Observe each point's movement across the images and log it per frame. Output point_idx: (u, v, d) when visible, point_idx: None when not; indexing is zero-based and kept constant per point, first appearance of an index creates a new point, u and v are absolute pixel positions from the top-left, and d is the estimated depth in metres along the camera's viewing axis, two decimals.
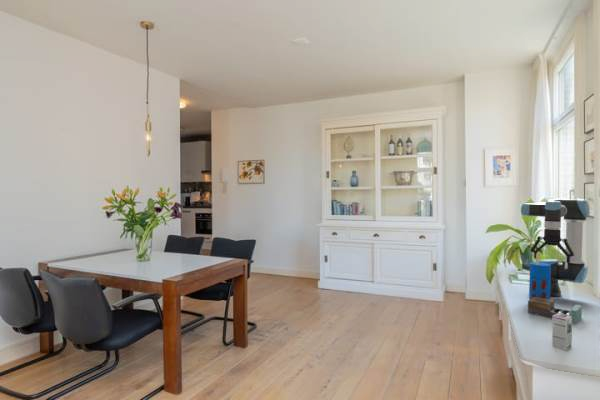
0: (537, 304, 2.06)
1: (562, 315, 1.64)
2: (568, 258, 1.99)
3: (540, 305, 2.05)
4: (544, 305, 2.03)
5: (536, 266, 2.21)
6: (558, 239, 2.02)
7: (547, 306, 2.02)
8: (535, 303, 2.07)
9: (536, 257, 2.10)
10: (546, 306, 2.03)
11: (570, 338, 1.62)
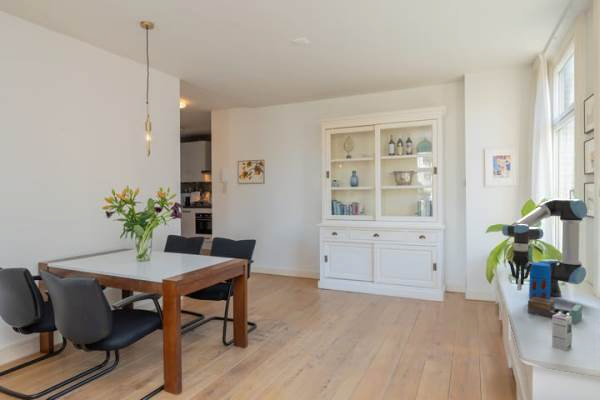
0: (537, 304, 2.06)
1: (562, 315, 1.64)
2: (522, 280, 2.16)
3: (540, 305, 2.05)
4: (544, 305, 2.03)
5: (536, 266, 2.21)
6: (526, 260, 2.14)
7: (547, 306, 2.02)
8: (535, 303, 2.07)
9: (517, 282, 2.17)
10: (546, 306, 2.03)
11: (570, 338, 1.62)
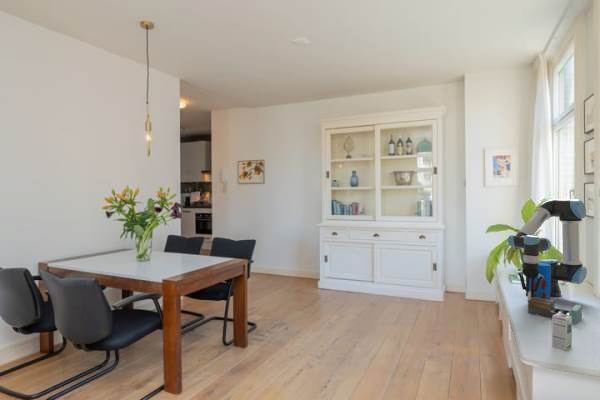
0: (537, 304, 2.06)
1: (562, 315, 1.64)
2: (532, 293, 2.12)
3: (540, 305, 2.05)
4: (544, 305, 2.03)
5: None
6: (536, 273, 2.10)
7: (547, 306, 2.02)
8: (535, 303, 2.07)
9: (528, 295, 2.13)
10: (546, 306, 2.03)
11: (570, 338, 1.62)
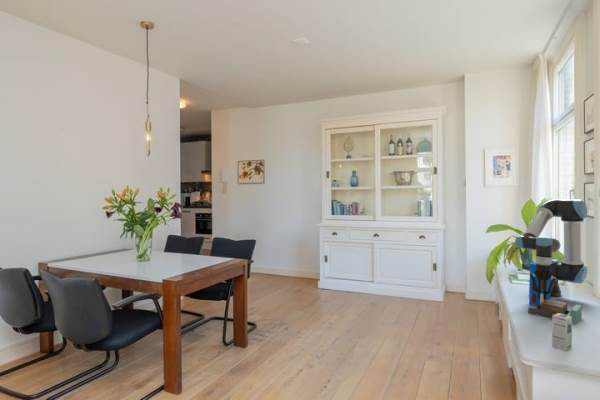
0: (550, 307, 2.01)
1: (562, 315, 1.64)
2: (545, 295, 2.08)
3: (553, 308, 2.00)
4: (557, 308, 1.99)
5: None
6: (549, 275, 2.06)
7: (560, 309, 1.98)
8: (548, 306, 2.02)
9: (540, 297, 2.09)
10: (559, 309, 1.98)
11: (570, 338, 1.62)
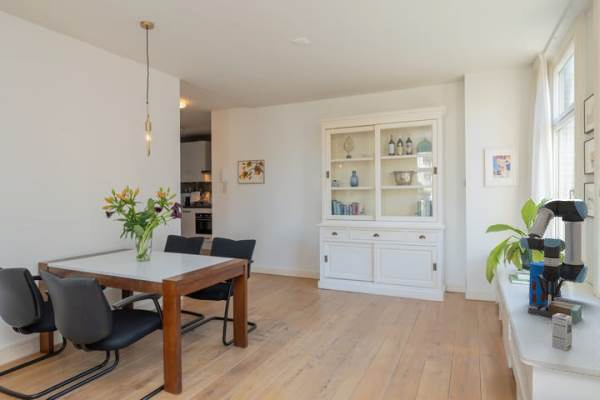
0: (558, 308, 1.99)
1: (562, 315, 1.64)
2: (552, 297, 2.05)
3: (561, 309, 1.98)
4: (566, 309, 1.96)
5: (536, 266, 2.21)
6: (557, 276, 2.03)
7: (569, 311, 1.95)
8: (556, 307, 1.99)
9: (548, 299, 2.06)
10: (568, 311, 1.95)
11: (570, 338, 1.62)
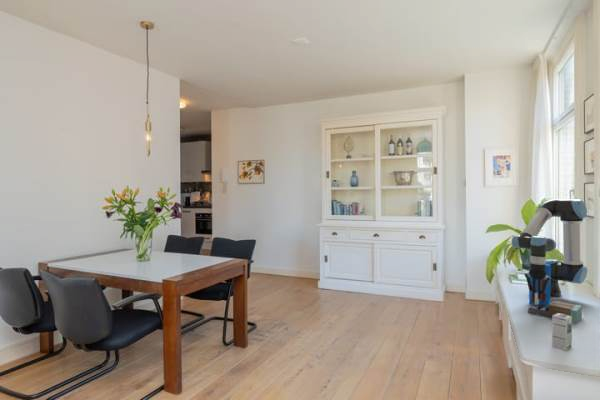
0: (558, 308, 1.99)
1: (562, 315, 1.64)
2: (539, 294, 2.10)
3: (561, 309, 1.98)
4: (566, 309, 1.96)
5: None
6: (543, 274, 2.08)
7: (569, 311, 1.95)
8: (556, 307, 1.99)
9: (535, 296, 2.11)
10: (568, 311, 1.95)
11: (570, 338, 1.62)
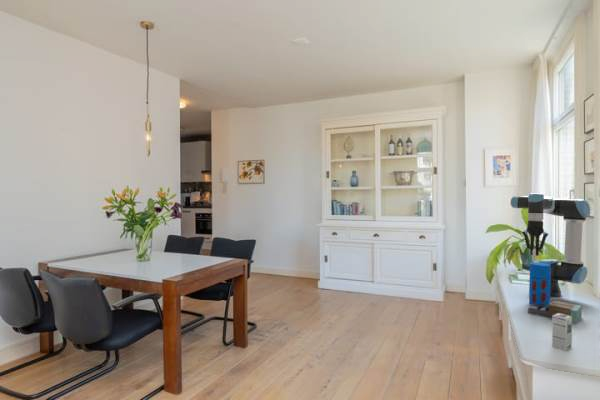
0: (558, 308, 1.99)
1: (562, 315, 1.64)
2: (537, 251, 2.10)
3: (561, 309, 1.98)
4: (566, 309, 1.96)
5: (536, 266, 2.21)
6: (541, 230, 2.08)
7: (569, 311, 1.95)
8: (556, 307, 1.99)
9: (532, 253, 2.11)
10: (568, 311, 1.95)
11: (570, 338, 1.62)
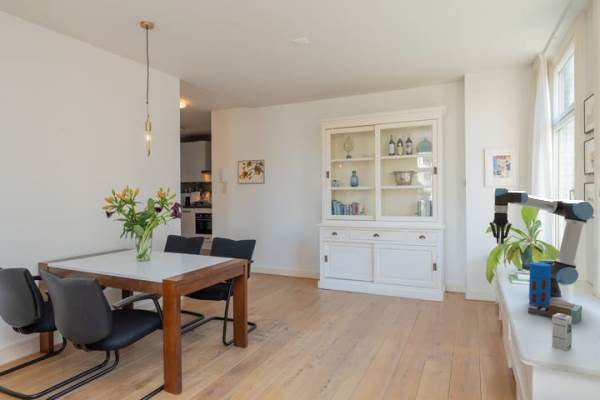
0: (558, 308, 1.99)
1: (562, 315, 1.64)
2: (502, 240, 2.34)
3: (561, 309, 1.98)
4: (566, 309, 1.96)
5: (536, 266, 2.21)
6: (505, 221, 2.32)
7: (569, 311, 1.95)
8: (556, 307, 1.99)
9: (498, 242, 2.35)
10: (568, 311, 1.95)
11: (570, 338, 1.62)
